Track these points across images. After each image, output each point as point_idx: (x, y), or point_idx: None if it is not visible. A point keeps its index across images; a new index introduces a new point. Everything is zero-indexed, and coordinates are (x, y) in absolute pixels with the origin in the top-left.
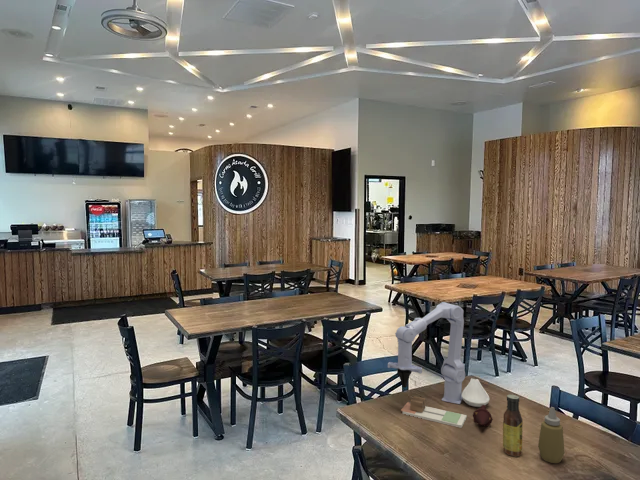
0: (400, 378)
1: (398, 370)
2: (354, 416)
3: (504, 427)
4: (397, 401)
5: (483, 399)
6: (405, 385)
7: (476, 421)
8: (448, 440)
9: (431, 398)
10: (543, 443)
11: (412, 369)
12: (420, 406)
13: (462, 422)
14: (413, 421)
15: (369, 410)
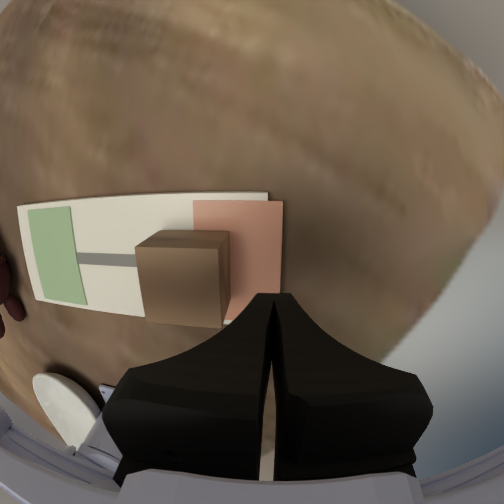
0: (327, 339)
1: (402, 455)
2: (463, 71)
3: None
4: (337, 327)
5: (61, 408)
6: (249, 303)
7: (1, 259)
8: (38, 83)
9: None
10: None
11: (7, 464)
12: (154, 239)
13: (22, 233)
14: (183, 136)
15: (440, 156)
